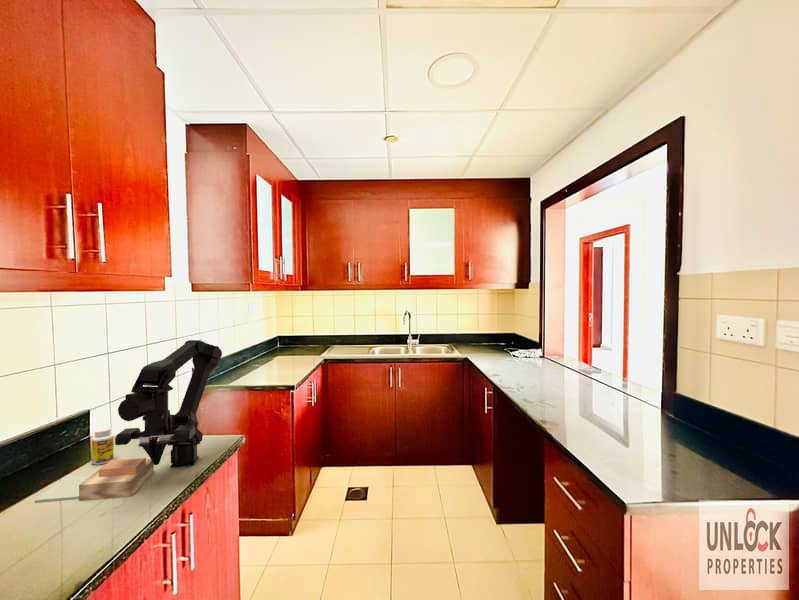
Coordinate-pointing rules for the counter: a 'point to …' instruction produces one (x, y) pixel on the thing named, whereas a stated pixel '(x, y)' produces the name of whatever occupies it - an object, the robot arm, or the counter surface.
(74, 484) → the sage mat
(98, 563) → the counter surface
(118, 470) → the terracotta tile
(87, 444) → the counter surface
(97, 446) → the supplement bottle
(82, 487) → the block
